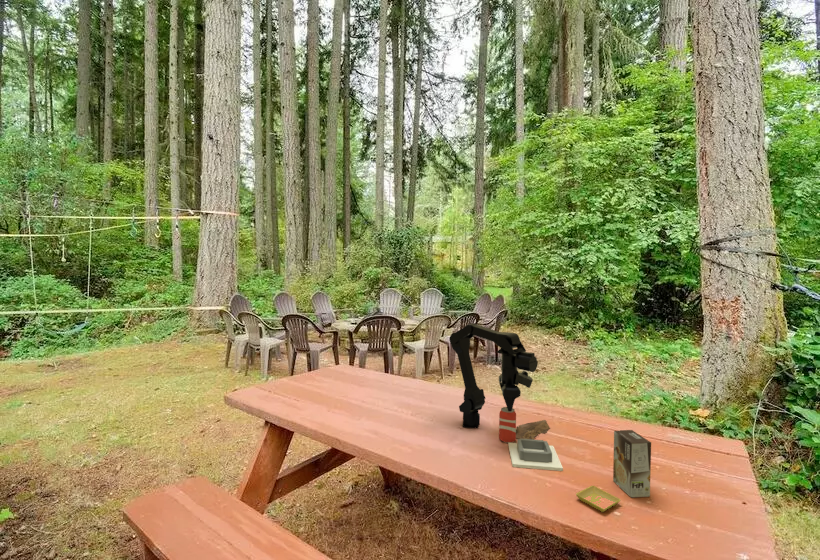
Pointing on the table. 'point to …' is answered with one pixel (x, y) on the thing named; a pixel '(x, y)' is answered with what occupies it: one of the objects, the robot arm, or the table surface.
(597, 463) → the table surface
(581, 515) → the table surface
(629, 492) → the coffee box
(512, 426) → the beverage can
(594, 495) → the olive green tray
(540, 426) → the brown fossil slab
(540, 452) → the can holder
